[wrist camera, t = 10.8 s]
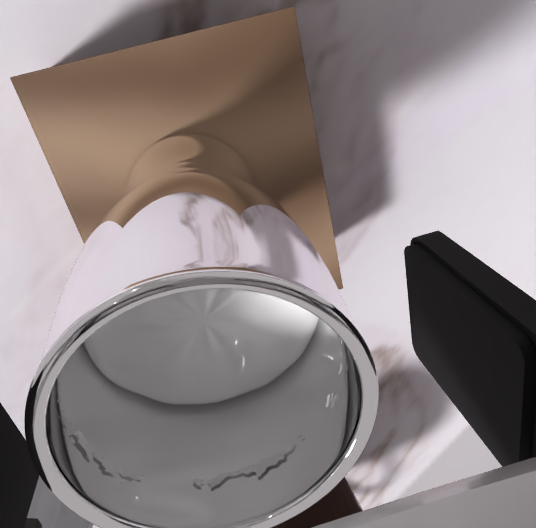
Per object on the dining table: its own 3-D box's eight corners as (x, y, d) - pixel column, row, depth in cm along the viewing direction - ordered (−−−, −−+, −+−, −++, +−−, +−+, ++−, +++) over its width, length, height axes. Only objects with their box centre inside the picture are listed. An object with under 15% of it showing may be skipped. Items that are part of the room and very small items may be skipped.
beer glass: (107, 123, 20) (-40, 273, 7) (265, 121, 21) (415, 248, 8) (125, 268, 23) (49, 577, 10) (263, 260, 24) (370, 526, 11)
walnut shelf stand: (45, 71, 24) (9, 77, 19) (270, 15, 24) (294, 6, 19) (139, 299, 30) (131, 349, 25) (316, 249, 31) (343, 288, 26)
